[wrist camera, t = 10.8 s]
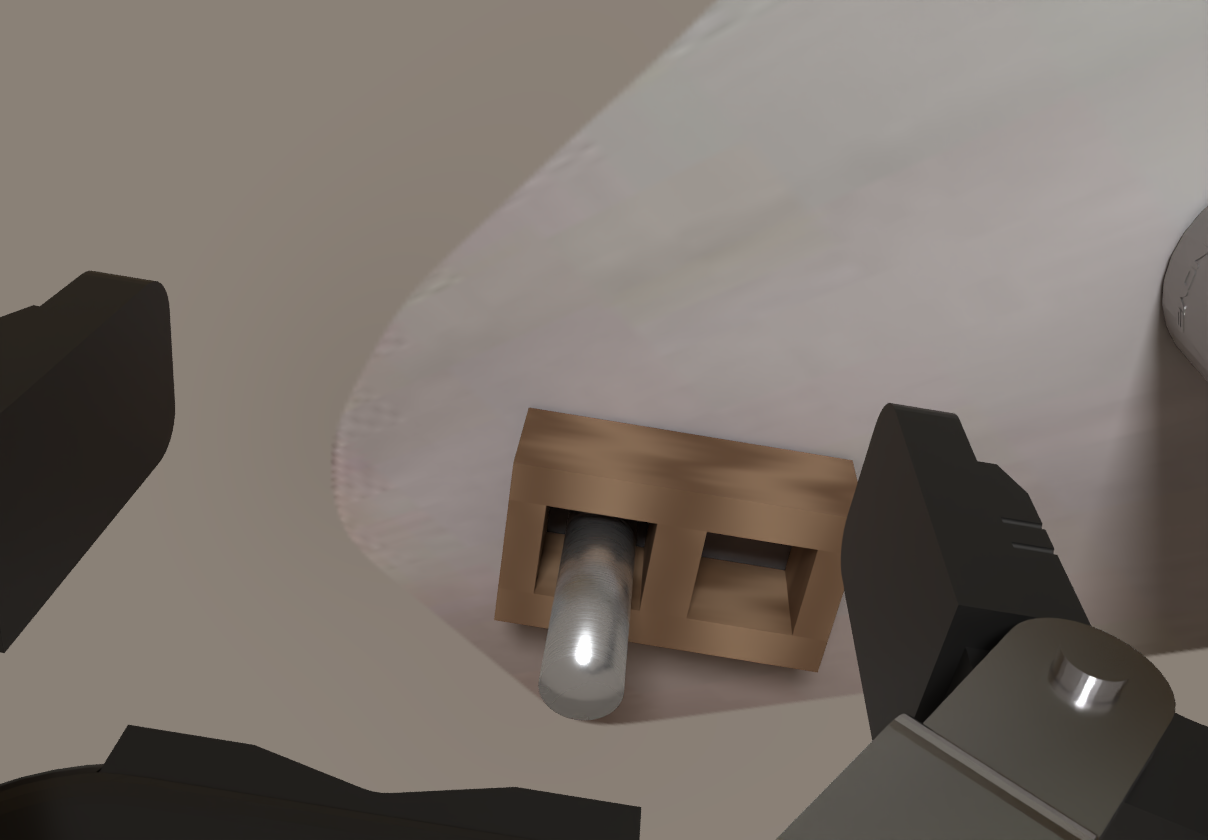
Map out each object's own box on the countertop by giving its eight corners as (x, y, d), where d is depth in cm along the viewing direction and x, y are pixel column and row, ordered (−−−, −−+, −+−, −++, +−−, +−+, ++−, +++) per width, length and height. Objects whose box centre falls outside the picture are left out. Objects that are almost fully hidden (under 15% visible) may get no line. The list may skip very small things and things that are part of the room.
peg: (644, 476, 48) (630, 663, 38) (633, 531, 50) (616, 726, 39) (577, 465, 48) (543, 649, 38) (568, 521, 50) (533, 712, 39)
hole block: (852, 460, 47) (866, 520, 43) (808, 605, 51) (817, 672, 47) (528, 407, 47) (513, 462, 43) (509, 556, 51) (494, 619, 47)
